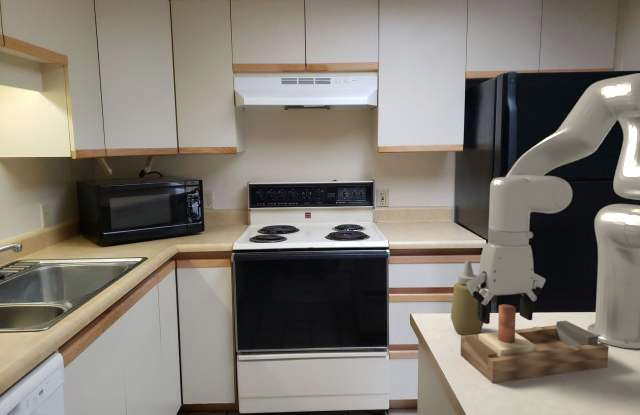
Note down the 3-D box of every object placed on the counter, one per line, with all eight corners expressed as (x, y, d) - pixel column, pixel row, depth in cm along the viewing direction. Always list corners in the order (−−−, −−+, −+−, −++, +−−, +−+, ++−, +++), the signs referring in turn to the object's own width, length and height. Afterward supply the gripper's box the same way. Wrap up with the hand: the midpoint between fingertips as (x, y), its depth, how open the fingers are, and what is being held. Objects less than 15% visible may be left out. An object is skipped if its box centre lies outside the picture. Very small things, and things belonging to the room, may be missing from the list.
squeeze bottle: (487, 339, 101) (488, 266, 99) (452, 337, 103) (452, 265, 101) (481, 326, 109) (482, 257, 107) (449, 324, 111) (449, 257, 109)
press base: (563, 342, 98) (564, 317, 98) (607, 366, 87) (608, 338, 86) (460, 355, 94) (460, 329, 93) (492, 383, 82) (493, 353, 81)
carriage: (511, 344, 93) (512, 299, 92) (536, 360, 86) (537, 312, 85) (478, 348, 92) (478, 302, 91) (500, 365, 84) (501, 316, 83)
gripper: (533, 233, 91) (529, 310, 93) (459, 236, 88) (457, 316, 90) (559, 239, 84) (554, 323, 86) (479, 243, 81) (476, 330, 83)
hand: (504, 319), depth 88 cm, fingers open, 9 cm apart
